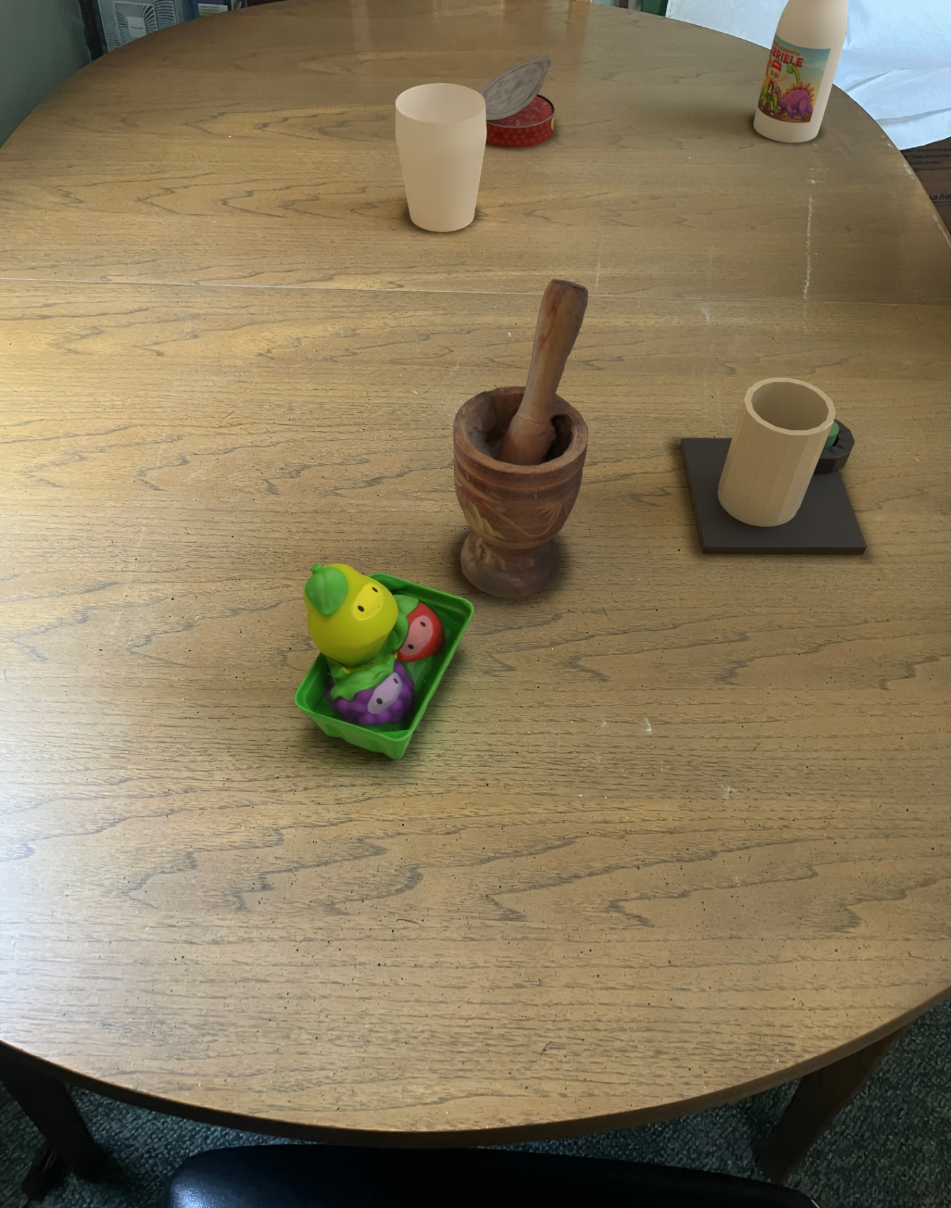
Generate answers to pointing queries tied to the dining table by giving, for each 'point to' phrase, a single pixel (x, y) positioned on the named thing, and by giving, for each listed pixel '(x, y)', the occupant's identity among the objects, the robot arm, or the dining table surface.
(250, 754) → the dining table surface
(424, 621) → the fruit basket
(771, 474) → the tan hollow cylinder
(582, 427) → the mortar and pestle
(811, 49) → the milk bottle
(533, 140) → the canned food
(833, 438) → the button
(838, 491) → the scale
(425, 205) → the cup
